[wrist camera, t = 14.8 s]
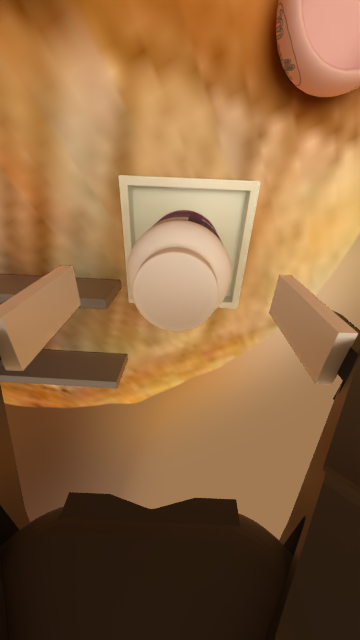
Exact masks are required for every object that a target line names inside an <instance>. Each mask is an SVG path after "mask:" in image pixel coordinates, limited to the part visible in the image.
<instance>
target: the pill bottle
mask: <svg viewBox="0 0 360 640" xmlns="http://www.w3.org/2000/svg"><path fill="white" fill-rule="evenodd" d="M127 279H128V284H129V287H130V290H131V292H132V295H133V298H134V302H135V305H136V307H137V309H138V311H139V312H140V313H141V315H142V316H143V317H144V318H145V319H146V320H147V321H148V322H150V323H151V324H152V325H154V326H156V327H158V328H160V329H163V330H167V331H176V332H177V331H187V330H190V329H193V328H196V327H198V326H199V325H201V324H202V323H204V322H205V321H206V320H207V319H208V318H209V317H210V316H211V314H212V313H213V311H214V310H216V309H217V308H218V307H219V305H220V304H221V303H222V301H223V300H224V298H225V296H226V295H227V292H228V290H229V286H230V282H231V263H230V259H229V256H228V253H227V251H226V249H225V247H224V245H223V243H222V241H221V239H220V237H219V235H218V233H217V231H216V229H215V228H214V226H213V225H212V223H211V222H210V221H209V220H208V219H207V218H206V217H204V216H203V215H201V214H199V213H197V212H194V211H190V210H178V211H173V212H171V213H169V214H167V215H165V216H164V217H162V218H161V219H160V220H159V221H158V222H157V223H155V224H154V225H153V226H152V227H151V228H150V229H149V230H148V231H146V232H145V233H144V234H143V235H142V236H141V237H140V238H139V239H138V241H137V242H136V244H135V245H134V247H133V249H132V251H131V253H130V256H129V259H128V264H127Z"/></svg>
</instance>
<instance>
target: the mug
mask: <svg viewBox="0 0 360 640" xmlns="http://www.w3.org/2000/svg"><path fill="white" fill-rule="evenodd" d="M276 38H277V49H278V53H279V56H280V60H281V64H282V67H283V68H284V70H285V72H286V74H287V76H288V78H289V79H290V80H291V81H292V83H293V84H294V85H295V86H296V87H297V88H299V89H300V90H302V91H303V92H305V93H307V94H309V95H313V96H317V97H334V96H338V95H342V94H345V93H349V92H351V91H353V90H355V89H357V88H359V87H360V0H279V1H278V7H277V18H276Z"/></svg>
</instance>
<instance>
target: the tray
mask: <svg viewBox="0 0 360 640" xmlns="http://www.w3.org/2000/svg"><path fill="white" fill-rule="evenodd" d="M260 183H261V181H241V180H218V179H195V178H172V177H149V176H126V175H119V186H120V199H121V212H122V224H123V237H124V249H125V262H126V274H127V264H128V259H129V256H130V253H131V251H132V249H133V247H134V245H135V244H136V242H137V241H138V239H139V238H140V237H141V236H142V235H143V234H144V233H145V232H146V231H148V230H149V229H150V228H151V227H152V226H153V225H154V224H155V223H157V222H158V221H159V220H160V219H161V218H162V217H164V216H165V215H167V214H169V213H171V212H173V211H178V210H190V211H194V212H197V213H199V214H201V215H203V216H204V217H206V218H207V219H208V220H209V221H210V222H211V223H212V225H213V226H214V228H215V229H216V231H217V233H218V235H219V237H220V239H221V241H222V243H223V245H224V247H225V249H226V251H227V253H228V256H229V259H230V263H231V282H230V286H229V290H228V292H227V295H226V296H225V298H224V300H223V301H222V303H221V304H220V305H219V307H218V308H233V309H238V303H239V298H240V292H241V287H242V282H243V276H244V271H245V265H246V260H247V254H248V249H249V243H250V238H251V232H252V227H253V221H254V216H255V210H256V205H257V199H258V194H259V188H260ZM127 287H128V299H129V303H135V302H134V298H133V295H132V292H131V290H130V287H129V284H128V279H127Z"/></svg>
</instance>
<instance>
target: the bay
mask: <svg viewBox="0 0 360 640" xmlns="http://www.w3.org/2000/svg"><path fill="white" fill-rule="evenodd" d="M42 277H44V276H30V275H10V274H0V304H1V303H2V302H4V301H6V300H8V299H10V298H11V297H13V296H14V295H16V294H17V293H19V292H21V291H22V290H24V289H25V288H27V287H28V286H30V285H31V284H33V283H34V282H36V281H37V280H39V279H40V278H42ZM76 283H77V288H78V293H79V298H80V303H81V305H80V306H79V307H78V308H91V309H107V308H108V306H109V305H110V304H111V302H112V301H113V299H114V298H115V296H116V295H117V293H118V292H119V291H120V289H121V286H120V280H107V279H88V278H76ZM127 360H128V359H127V354H115V353H97V352H80V351H62V350H45V349H42V350H41V351H40V352H39V353H38V354H37V355H36V357H35V358H34V359H33V360H32V361H31V362H30V363H29V365H28V366H27V367H26V368H25V369H24V370H23V371H11V370H6V369H5V367H4V365H3V363H2V361H1V360H0V382H17V383H33V384H50V385H67V386H83V387H100V388H118V385H119V382H120V379H121V377H122V374H123V371H124V369H125V366H126V363H127Z"/></svg>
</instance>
